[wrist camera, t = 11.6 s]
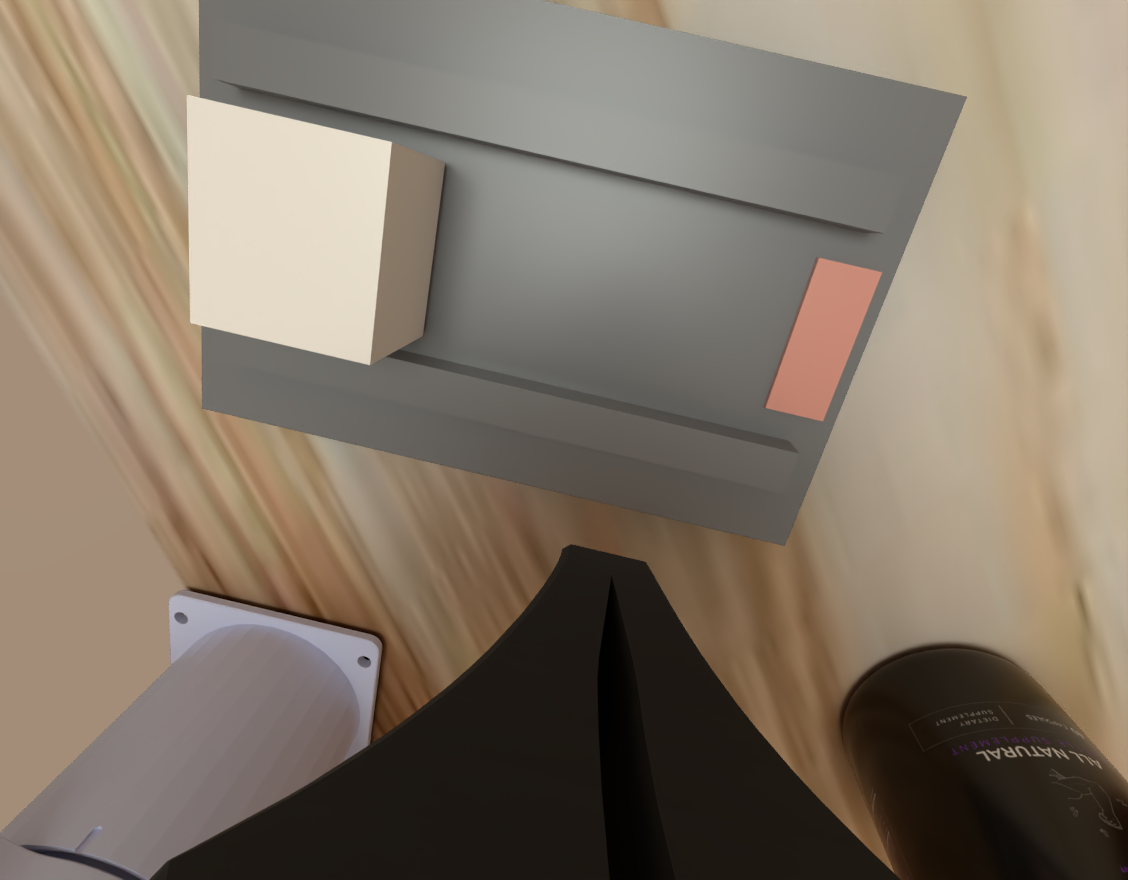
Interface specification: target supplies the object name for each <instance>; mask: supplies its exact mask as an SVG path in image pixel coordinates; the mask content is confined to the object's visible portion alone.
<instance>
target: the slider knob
mask: <svg viewBox="0 0 1128 880" xmlns="http://www.w3.org/2000/svg"><path fill="white" fill-rule="evenodd" d="M187 138H188V206H189V274H190V323H192V324H197V325H201V326H205V327H209V328H214V329H218V330H222V331H226V332H231V333H235V334H239V335H243V336H248V337H252V338H256V339H261V340H265V341H269V342H273V343H278V344H282V345H286V346H290V347H295V348H299V349H303V350H307V351H312V352H316V353H320V354H324V355H329V356H333V357H337V358H341V359H346V360H350V361H354V362H359V363H363V364H367V365H371V364H373V363H375V362H377V361H378V360H380V359H382V358H384V357H386V356H388V355H389V354H391V353H393V352H395V351H397V350H399V349H400V348H402V347H404V346H406V345H408V344H409V343H411V342H413V341H415V340H417V339H419V338H420V337H422V336H423V331H424V323H425V315H426V307H427V300H428V292H429V284H430V276H431V269H432V261H433V253H434V245H435V238H436V230H437V222H438V214H439V207H440V199H441V191H442V183H443V176H444V168H445V162H443V161H441V160H438V159H435V158H433V157H430V156H427V155H425V154H422V153H420V152H417V151H414V150H412V149H409V148H406V147H404V146H401V145H398V144H396V143H393V142H390V141H385V140H381V139H377V138H372V137H368V136H364V135H359V134H355V133H351V132H346V131H342V130H338V129H333V128H329V127H325V126H320V125H316V124H312V123H307V122H303V121H299V120H294V119H290V118H286V117H281V116H277V115H273V114H268V113H264V112H260V111H255V110H251V109H247V108H242V107H238V106H234V105H229V104H225V103H221V102H216V101H212V100H208V99H203V98H199V97H195V96H190V95H187Z"/></svg>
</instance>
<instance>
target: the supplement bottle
mask: <svg viewBox="0 0 1128 880" xmlns="http://www.w3.org/2000/svg"><path fill="white" fill-rule="evenodd" d="M842 734H843V743H844V747H845V750H846V754H847V757H848V759H849V762H850V764H851V767H852V769H853V772H854V775H855V777H856V780H857V782H858V785H859V787H860V790H861V792H862V795H863V797H864V799H865V802H866V804H867V807H868V809H869V812H870V814H871V817H872V819H873V821H874V824H875V826H876V829H877V831H878V834H879V836H880V839H881V841H882V843H883V846H884V848H885V851H886V853H887V856H888V858H889V861H890V863H891V865H892V868H893V870H894V873H895V875H896V876H898V877H899V878H900V879H901V880H1128V782H1127V780H1126V779H1125V778H1124V777H1123V776H1122V775H1121V774H1120V773H1119V772H1118V770H1117V769H1116V768H1115V767H1114V766H1113V765H1112V764H1111V763H1110V761H1109V760H1108V759H1107V758H1106V757H1105V756H1104V755H1103V754H1102V753H1101V751H1100V750H1099V749H1098V748H1097V747H1096V746H1095V745H1094V744H1093V743H1092V741H1091V740H1090V739H1089V738H1088V737H1087V736H1086V735H1085V734H1084V732H1083V731H1082V730H1081V729H1080V728H1079V727H1078V726H1077V725H1076V724H1075V722H1074V721H1073V720H1072V719H1071V718H1070V717H1069V716H1068V715H1067V714H1066V712H1065V711H1064V710H1063V709H1062V708H1061V707H1060V706H1059V705H1058V704H1057V703H1056V702H1055V701H1054V700H1053V698H1052V697H1051V696H1050V695H1049V694H1048V693H1047V692H1046V691H1045V690H1044V689H1043V688H1042V686H1041V685H1040V684H1039V683H1037V682H1036V681H1035V680H1034V679H1033V678H1032V677H1031V676H1030V675H1029V674H1028V673H1026V672H1025V671H1024V670H1023V669H1021V668H1019V667H1018V666H1016V665H1014V664H1013V663H1011V662H1009V661H1007V660H1005V659H1003V658H1000V657H997V656H995V655H992V654H989V653H985V652H981V651H976V650H970V649H961V648H939V649H931V650H925V651H920V652H916V653H912V654H909V655H906V656H903V657H901V658H898V659H896V660H894V661H892V662H890V663H888V664H886V665H884V666H883V667H881V668H880V669H878V670H877V671H875V672H874V673H873V674H871V675H870V676H869V677H868V678H867V679H866V680H865V681H864V682H863V683H862V684H861V685H860V686H859V687H858V689H857V690H856V691H855V693H854V694H853V696H852V698H851V699H850V701H849V703H848V706H847V708H846V711H845V715H844V719H843V727H842Z"/></svg>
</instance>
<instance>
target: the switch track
mask: <svg viewBox="0 0 1128 880" xmlns="http://www.w3.org/2000/svg"><path fill="white" fill-rule="evenodd" d="M199 61H200V98H203V99H208V100H212V101H216V102H221V103H225V104H229V105H234V106H238V107H242V108H247V109H251V110H255V111H260V112H264V113H268V114H273V115H277V116H281V117H286V118H290V119H294V120H299V121H303V122H307V123H312V124H316V125H320V126H325V127H329V128H333V129H338V130H342V131H346V132H351V133H355V134H359V135H364V136H368V137H372V138H377V139H381V140H385V141H390V142H393V143H396V144H398V145H401V146H404V147H406V148H409V149H412V150H414V151H417V152H420V153H422V154H425V155H427V156H430V157H433V158H435V159H438V160H441V161H443V162H445V168H444V176H443V183H442V191H441V199H440V207H439V214H438V222H437V230H436V238H435V245H434V253H433V261H432V269H431V276H430V284H429V292H428V300H427V307H426V315H425V323H424V331H423V336H422V337H420V338H419V339H417V340H415V341H413V342H411V343H409V344H408V345H406V346H404V347H402V348H400V349H399V350H397V351H395V352H393V353H391V354H389V355H388V356H386V357H384V358H382V359H380V360H378V361H377V362H375V363H373V364H371V365H367V364H363V363H359V362H354V361H350V360H346V359H341V358H337V357H333V356H329V355H324V354H320V353H316V352H312V351H307V350H303V349H299V348H295V347H290V346H286V345H282V344H278V343H273V342H269V341H265V340H261V339H256V338H252V337H248V336H243V335H239V334H235V333H231V332H226V331H222V330H218V329H214V328H209V327H205V326H202V409H206V410H211V411H215V412H219V413H223V414H228V415H232V416H236V417H240V418H245V419H249V420H253V421H257V422H262V423H266V424H270V425H274V426H279V427H283V428H287V429H291V430H295V431H300V432H304V433H308V434H312V435H317V436H321V437H325V438H329V439H334V440H338V441H342V442H346V443H351V444H355V445H359V446H363V447H368V448H372V449H376V450H380V451H384V452H389V453H393V454H397V455H401V456H406V457H410V458H414V459H418V460H423V461H427V462H431V463H435V464H440V465H444V466H448V467H452V468H457V469H461V470H465V471H469V472H473V473H478V474H482V475H486V476H490V477H495V478H499V479H503V480H507V481H512V482H516V483H520V484H524V485H529V486H533V487H537V488H541V489H546V490H550V491H554V492H558V493H562V494H567V495H571V496H575V497H579V498H584V499H588V500H592V501H596V502H601V503H605V504H609V505H613V506H618V507H622V508H626V509H630V510H634V511H639V512H643V513H647V514H651V515H656V516H660V517H664V518H668V519H673V520H677V521H681V522H685V523H690V524H694V525H698V526H702V527H707V528H711V529H715V530H719V531H723V532H728V533H732V534H736V535H740V536H745V537H749V538H753V539H757V540H762V541H766V542H770V543H774V544H779V545H783V546H785V544H786V541H787V539H788V537H789V534H790V532H791V529H792V527H793V524H794V522H795V519H796V517H797V514H798V512H799V509H800V507H801V505H802V502H803V500H804V497H805V495H806V492H807V490H808V487H809V485H810V482H811V480H812V477H813V475H814V473H815V470H816V468H817V465H818V463H819V460H820V458H821V455H822V453H823V450H824V448H825V445H826V443H827V440H828V438H829V436H830V433H831V431H832V428H833V426H834V423H835V421H836V418H837V416H838V413H839V411H840V408H841V406H842V404H843V401H844V399H845V396H846V394H847V391H848V389H849V386H850V384H851V381H852V379H853V376H854V374H855V371H856V369H857V367H858V364H859V362H860V359H861V357H862V354H863V352H864V349H865V347H866V344H867V342H868V339H869V337H870V335H871V332H872V330H873V327H874V325H875V322H876V320H877V317H878V315H879V312H880V310H881V307H882V305H883V303H884V300H885V298H886V295H887V293H888V290H889V288H890V285H891V283H892V280H893V278H894V275H895V273H896V270H897V268H898V266H899V263H900V261H901V258H902V256H903V253H904V251H905V248H906V246H907V243H908V241H909V238H910V236H911V234H912V231H913V229H914V226H915V224H916V221H917V219H918V216H919V214H920V211H921V209H922V206H923V204H924V201H925V199H926V197H927V194H928V192H929V189H930V187H931V184H932V182H933V179H934V177H935V174H936V172H937V169H938V167H939V165H940V162H941V160H942V157H943V155H944V152H945V150H946V147H947V145H948V142H949V140H950V137H951V135H952V133H953V130H954V128H955V125H956V123H957V120H958V118H959V115H960V113H961V110H962V108H963V105H964V103H965V100H966V98H967V97H966V96H961V95H957V94H952V93H948V92H944V91H939V90H935V89H930V88H926V87H922V86H917V85H913V84H908V83H904V82H900V81H895V80H891V79H887V78H882V77H878V76H873V75H869V74H865V73H860V72H856V71H851V70H847V69H843V68H838V67H834V66H830V65H825V64H821V63H816V62H812V61H808V60H803V59H799V58H794V57H790V56H786V55H781V54H777V53H772V52H768V51H764V50H759V49H755V48H751V47H746V46H742V45H737V44H733V43H729V42H724V41H720V40H715V39H711V38H707V37H702V36H698V35H694V34H689V33H685V32H680V31H676V30H672V29H667V28H663V27H658V26H654V25H650V24H645V23H641V22H636V21H632V20H628V19H623V18H619V17H615V16H610V15H606V14H601V13H597V12H593V11H588V10H584V9H579V8H575V7H571V6H566V5H562V4H558V3H553V2H549V1H544V0H199Z"/></svg>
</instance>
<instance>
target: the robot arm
mask: <svg viewBox="0 0 1128 880" xmlns="http://www.w3.org/2000/svg"><path fill="white" fill-rule="evenodd" d="M183 613H184V614H185V615H186V616H185V615H184V614H183ZM169 627H170V655H171V666H170V667H169V668H168V669H167V670H166V671H165V672H164V673H163V674H162V675H161V676H160V677H159V678H158V679H157V680H156V681H155V682H154V683H153V684H152V685H151V686H150V687H149V688H148V689H147V690H146V691H145V692H144V693H143V694H141V695H140V696H139V697H138V698H137V699H136V701H134V702H133V703H132V704H131V705H130V706H129V707H128V708H127V709H126V710H125V711H124V712H123V713H122V714H121V715H120V716H119V717H118V718H117V719H116V720H115V721H114V722H113V723H112V724H111V725H110V726H109V727H108V728H107V729H106V730H105V731H104V732H103V733H102V734H100V735H99V736H98V737H97V738H96V739H95V740H94V741H93V742H92V743H91V744H90V745H89V746H88V747H87V748H86V749H85V750H84V751H83V752H82V753H81V754H80V755H79V756H78V757H77V758H76V759H75V760H74V761H73V762H72V763H71V764H70V765H69V766H68V767H67V768H66V769H65V770H64V771H63V772H62V773H61V774H60V775H58V776H57V777H56V778H55V780H54V781H52V782H51V783H50V784H49V785H48V786H47V787H46V788H45V789H44V790H43V791H42V792H41V793H40V794H39V795H38V796H37V797H36V798H35V799H34V800H33V801H32V802H31V803H30V804H29V805H28V806H27V807H26V808H25V809H24V810H23V811H22V812H21V813H20V814H19V815H17V816H16V817H15V818H14V819H13V820H12V821H11V822H10V823H9V824H8V825H7V826H6V827H5V828H4V829H3V830H2V831H1V832H0V880H901V879H900V878H899V877H898V876H896V875H895V874H894V873H893V872H892V871H891V870H890V869H889V868H888V867H887V866H886V865H885V864H884V863H883V862H882V861H881V860H879V859H878V858H877V857H876V856H875V855H874V854H873V853H872V852H871V851H870V850H869V849H868V848H867V847H866V846H865V845H864V844H863V843H862V842H861V841H860V840H859V839H858V838H857V837H856V836H855V835H854V834H853V833H852V832H851V831H850V830H849V829H848V828H847V827H846V826H845V825H844V824H843V823H842V822H841V821H840V820H839V819H838V818H837V817H836V816H835V815H834V814H833V813H832V812H831V811H830V810H829V809H828V808H827V807H826V806H825V805H824V804H823V803H822V802H821V801H820V800H819V798H818V797H817V796H816V795H815V794H814V793H813V792H812V791H811V790H810V789H809V788H808V787H807V786H806V784H805V783H804V782H803V781H802V780H801V779H800V778H799V777H798V776H797V775H796V774H795V773H794V771H793V770H792V769H791V768H790V767H789V766H788V765H787V763H786V762H785V761H784V760H783V759H782V758H781V756H780V755H779V754H778V753H777V752H776V751H775V749H774V748H773V747H772V746H771V745H770V744H769V742H768V741H767V740H766V739H765V738H764V737H763V735H762V734H761V733H760V732H759V731H758V730H757V728H756V727H755V726H754V725H753V723H752V722H751V721H750V720H749V718H748V717H747V716H746V715H745V713H744V712H743V711H742V710H741V708H740V707H739V706H738V705H737V703H736V702H735V700H734V699H733V698H732V696H731V695H730V694H729V692H728V691H727V690H726V688H725V687H724V686H723V684H722V683H721V681H720V680H719V679H718V677H717V676H716V675H715V673H714V672H713V671H712V669H711V668H710V666H709V665H708V663H707V662H706V660H705V659H704V657H703V656H702V655H701V653H700V652H699V650H698V648H697V647H696V645H695V644H694V642H693V641H692V639H691V638H690V636H689V634H688V633H687V631H686V630H685V628H684V627H683V625H682V623H681V622H680V620H679V618H678V617H677V615H676V613H675V612H674V610H673V608H672V606H671V605H670V603H669V601H668V600H667V598H666V596H665V594H664V593H663V591H662V589H661V587H660V586H659V584H658V582H657V581H656V579H655V577H654V575H653V574H652V572H651V570H650V569H649V567H648V565H647V564H646V562H643V561H639V560H635V559H631V558H627V557H622V556H618V555H614V554H610V553H605V552H601V551H597V550H593V549H589V548H584V547H580V546H576V545H572V544H571V545H569V546H567V547H565V548H563V549H562V553H561V557H560V559H559V561H558V563H557V565H556V567H555V569H554V570H553V572H552V574H551V575H550V577H549V578H548V580H547V581H546V583H545V584H544V586H543V587H542V588H541V590H540V591H539V592H538V594H537V595H536V596H535V598H534V599H533V600H532V602H531V603H530V604H529V605H528V607H527V608H526V609H525V611H524V612H523V613H522V614H521V615H520V616H519V618H518V619H517V620H516V621H515V622H514V623H513V624H512V625H511V626H510V627H509V628H508V630H507V631H506V632H505V633H504V634H503V635H502V636H501V637H500V638H499V639H498V640H497V642H496V643H495V644H494V645H493V646H492V647H491V648H490V649H489V650H488V651H487V652H486V653H485V654H484V655H483V656H482V657H480V658H479V659H478V660H477V661H476V662H475V663H474V664H473V665H472V666H471V667H470V668H469V669H468V670H466V671H465V672H464V673H463V674H462V675H461V676H460V677H458V678H457V679H456V680H455V681H454V682H453V683H452V684H450V685H449V686H448V687H447V688H446V689H444V690H443V691H442V692H441V693H439V694H438V695H437V696H436V697H434V698H433V699H432V700H430V701H429V702H428V703H427V704H425V705H424V706H423V707H422V708H420V709H419V710H418V711H416V712H415V713H414V714H413V715H411V716H410V717H409V718H407V719H406V720H405V721H403V722H402V723H400V724H399V725H398V726H396V727H395V728H394V729H392V730H391V731H389V732H388V733H386V734H385V735H384V736H382V737H381V738H379V739H378V740H376V741H374V742H373V743H371V744H370V740H371V732H372V724H373V717H374V709H375V701H376V693H377V686H378V678H379V670H380V662H381V655H382V643H381V641H380V640H379V639H378V638H377V637H376V636H373V635H371V634H367V633H363V632H359V631H355V630H350V629H346V628H342V627H338V626H334V625H329V624H325V623H321V622H317V621H313V620H309V619H304V618H300V617H296V616H292V615H288V614H283V613H279V612H275V611H271V610H267V609H263V608H258V607H254V606H250V605H246V604H242V603H237V602H233V601H229V600H225V599H221V598H217V597H212V596H208V595H204V594H200V593H196V592H191V591H187V590H182V591H179V592H177V593H176V594H175V595H173V596H172V597H171V598H170V600H169ZM363 656H365V657H367V658H369V659H370V660H366V659H364V657H363Z"/></svg>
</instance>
